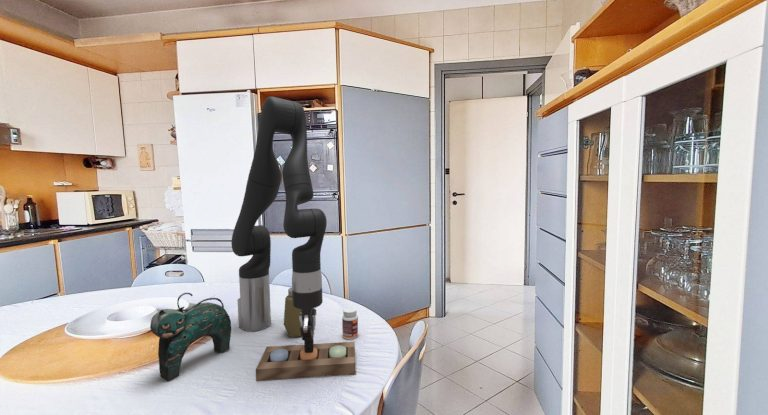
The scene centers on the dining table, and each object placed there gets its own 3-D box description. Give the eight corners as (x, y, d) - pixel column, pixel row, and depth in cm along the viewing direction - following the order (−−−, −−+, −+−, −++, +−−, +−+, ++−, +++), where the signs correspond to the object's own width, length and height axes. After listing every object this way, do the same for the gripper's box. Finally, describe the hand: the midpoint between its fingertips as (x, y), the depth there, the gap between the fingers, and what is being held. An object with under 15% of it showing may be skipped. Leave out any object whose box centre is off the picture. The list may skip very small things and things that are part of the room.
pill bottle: (355, 340, 103) (355, 313, 102) (340, 338, 104) (340, 312, 103) (359, 333, 107) (359, 307, 107) (345, 331, 108) (344, 306, 107)
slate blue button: (269, 369, 86) (268, 358, 86) (272, 360, 90) (272, 349, 90) (286, 368, 86) (286, 357, 86) (289, 359, 91) (289, 348, 91)
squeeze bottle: (315, 330, 110) (314, 275, 108) (299, 341, 102) (297, 282, 101) (295, 325, 113) (293, 272, 111) (278, 336, 106) (276, 279, 104)
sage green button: (329, 365, 88) (328, 354, 87) (330, 356, 92) (329, 345, 92) (346, 364, 88) (346, 353, 88) (346, 355, 92) (346, 344, 92)
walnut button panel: (256, 381, 83) (255, 369, 82) (266, 357, 93) (266, 346, 93) (355, 374, 85) (355, 362, 85) (354, 351, 96) (354, 341, 96)
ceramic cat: (163, 387, 80) (157, 305, 79) (148, 379, 84) (142, 300, 82) (235, 349, 98) (232, 281, 96) (221, 344, 101) (218, 278, 99)
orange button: (299, 367, 87) (299, 356, 87) (301, 358, 91) (301, 347, 91) (316, 366, 87) (316, 355, 87) (318, 357, 92) (318, 346, 91)
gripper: (320, 294, 81) (321, 364, 83) (323, 278, 94) (325, 338, 96) (287, 296, 80) (290, 366, 82) (296, 279, 93) (298, 340, 95)
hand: (309, 351), depth 89 cm, fingers closed
